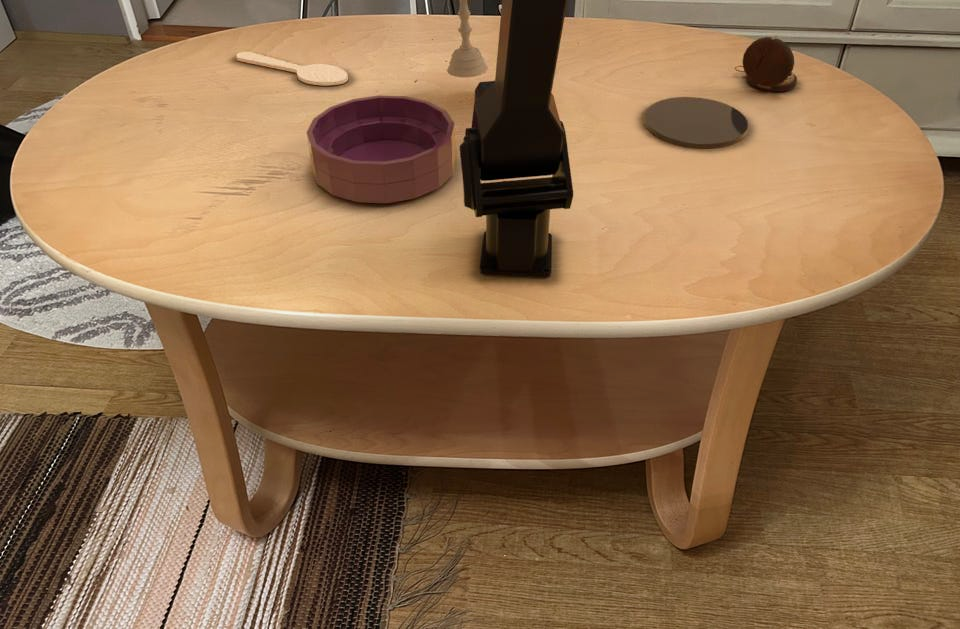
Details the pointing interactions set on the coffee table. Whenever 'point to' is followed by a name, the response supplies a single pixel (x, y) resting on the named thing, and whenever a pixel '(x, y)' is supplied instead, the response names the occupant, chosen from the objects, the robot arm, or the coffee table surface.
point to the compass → (769, 64)
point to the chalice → (466, 50)
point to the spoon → (299, 69)
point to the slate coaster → (695, 122)
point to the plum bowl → (382, 148)
